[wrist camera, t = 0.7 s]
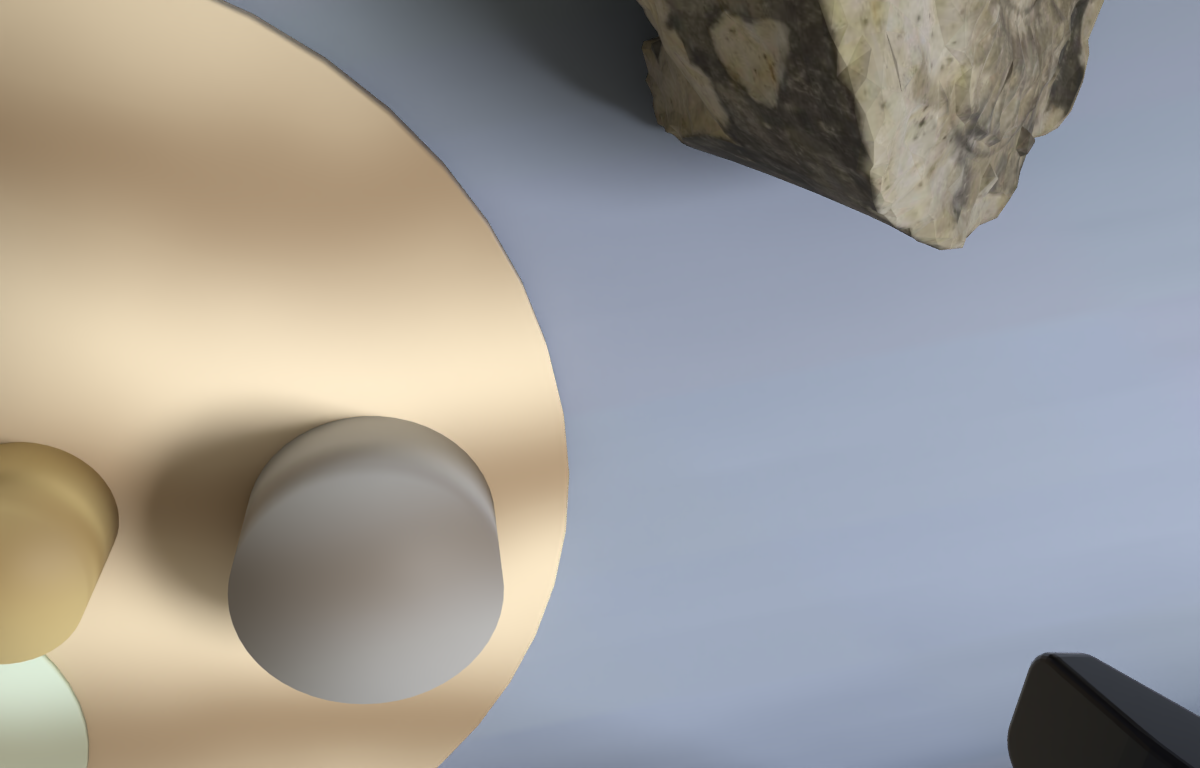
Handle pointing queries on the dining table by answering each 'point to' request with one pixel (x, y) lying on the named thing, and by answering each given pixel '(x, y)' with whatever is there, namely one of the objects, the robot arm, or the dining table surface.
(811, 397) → the dining table surface
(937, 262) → the dining table surface
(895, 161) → the fossil
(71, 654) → the carrier plate
